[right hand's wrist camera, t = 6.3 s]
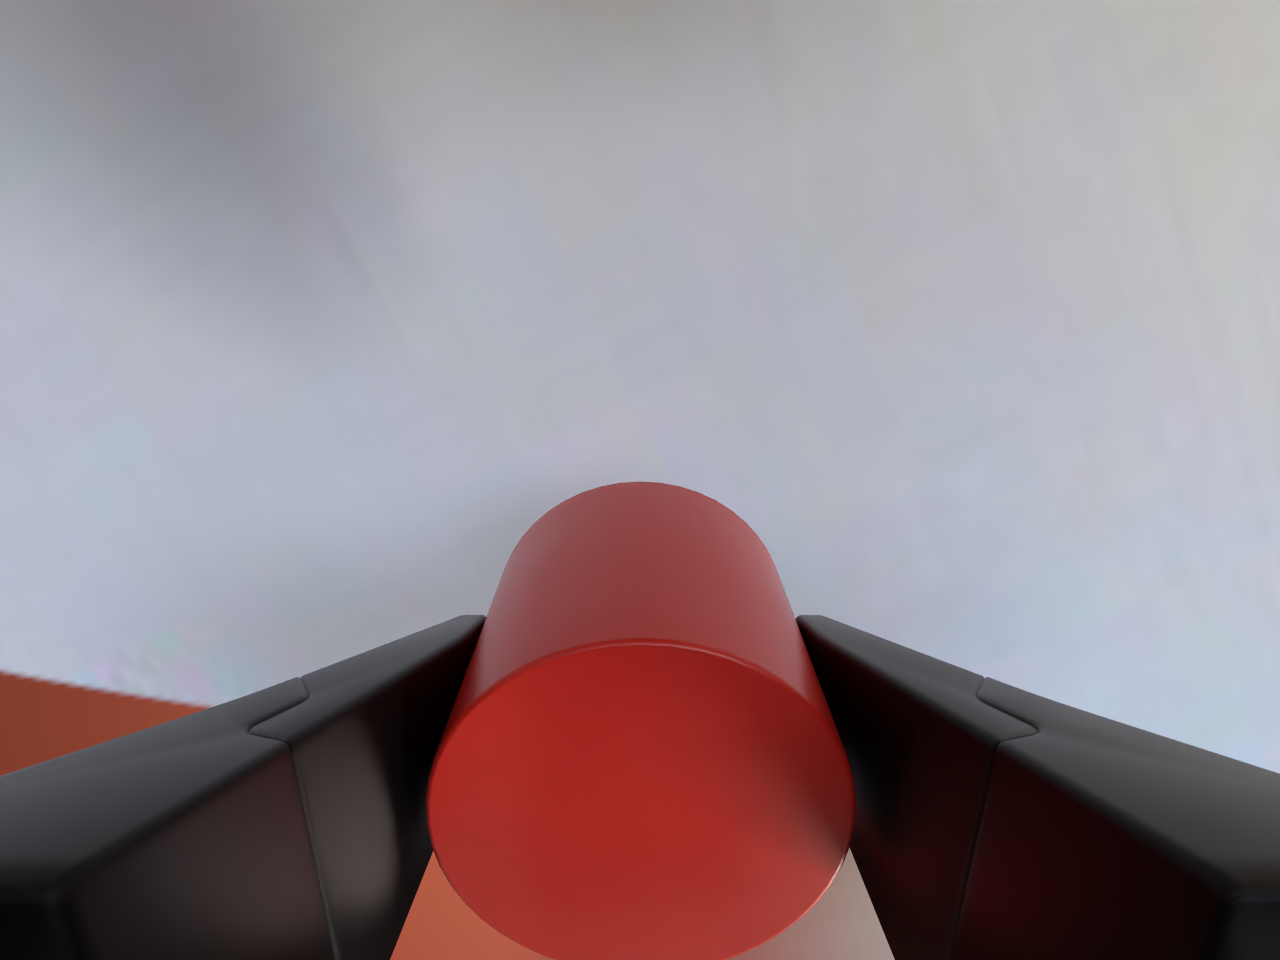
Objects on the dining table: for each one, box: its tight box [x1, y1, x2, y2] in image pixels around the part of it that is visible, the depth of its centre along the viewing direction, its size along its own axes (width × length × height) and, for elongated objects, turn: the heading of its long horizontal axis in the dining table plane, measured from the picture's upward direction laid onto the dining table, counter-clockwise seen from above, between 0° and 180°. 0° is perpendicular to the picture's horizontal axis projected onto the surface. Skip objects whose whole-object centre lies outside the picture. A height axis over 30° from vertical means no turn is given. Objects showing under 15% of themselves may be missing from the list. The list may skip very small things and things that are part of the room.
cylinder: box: [426, 482, 856, 960], centre depth 10 cm, size 5×5×5 cm
